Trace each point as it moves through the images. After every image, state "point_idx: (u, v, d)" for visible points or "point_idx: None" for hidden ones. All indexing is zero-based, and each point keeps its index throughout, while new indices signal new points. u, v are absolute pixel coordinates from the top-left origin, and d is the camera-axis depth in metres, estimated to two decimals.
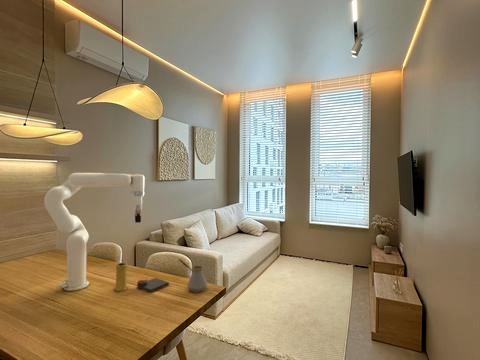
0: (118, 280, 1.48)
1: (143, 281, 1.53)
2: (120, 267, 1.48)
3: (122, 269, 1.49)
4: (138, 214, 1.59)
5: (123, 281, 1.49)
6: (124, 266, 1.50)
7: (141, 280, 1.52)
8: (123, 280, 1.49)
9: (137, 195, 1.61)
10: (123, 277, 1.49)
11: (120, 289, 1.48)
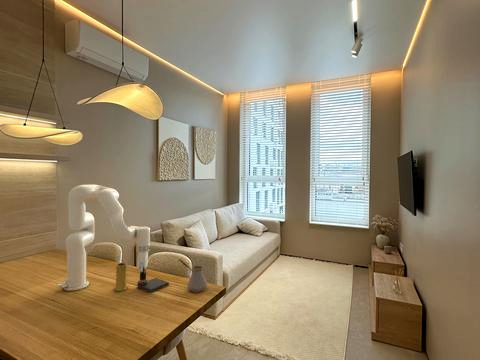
0: (118, 280, 1.48)
1: (143, 281, 1.53)
2: (120, 267, 1.48)
3: (122, 269, 1.49)
4: (142, 272, 1.51)
5: (123, 281, 1.49)
6: (124, 266, 1.50)
7: (141, 280, 1.52)
8: (123, 280, 1.49)
9: (141, 251, 1.50)
10: (123, 277, 1.49)
11: (120, 289, 1.48)
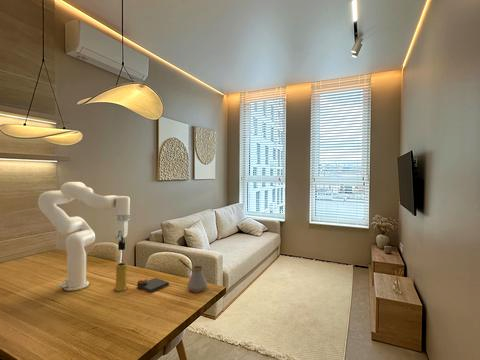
0: (118, 280, 1.48)
1: (143, 281, 1.53)
2: (120, 267, 1.48)
3: (122, 269, 1.49)
4: (121, 241, 1.48)
5: (123, 281, 1.49)
6: (124, 266, 1.50)
7: (141, 280, 1.52)
8: (123, 280, 1.49)
9: (120, 219, 1.47)
10: (123, 277, 1.49)
11: (120, 289, 1.48)
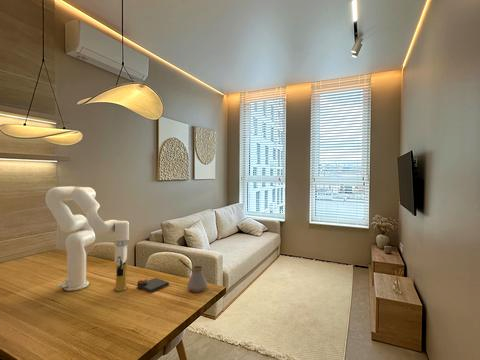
0: (118, 280, 1.48)
1: (143, 281, 1.53)
2: None
3: None
4: (119, 268, 1.46)
5: (123, 281, 1.49)
6: (124, 266, 1.50)
7: (141, 280, 1.52)
8: (123, 280, 1.49)
9: (119, 245, 1.47)
10: (123, 277, 1.49)
11: (120, 289, 1.48)
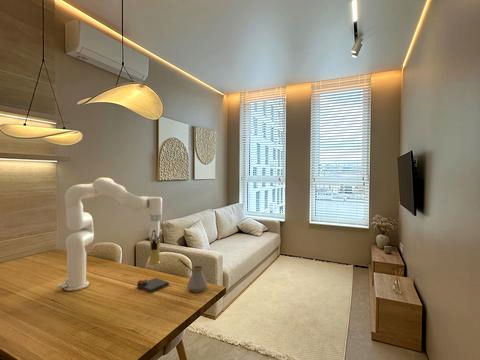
0: (152, 253, 1.52)
1: (143, 281, 1.53)
2: None
3: None
4: (154, 241, 1.50)
5: (157, 255, 1.53)
6: (158, 240, 1.54)
7: (141, 280, 1.52)
8: (157, 254, 1.53)
9: (153, 219, 1.51)
10: (157, 251, 1.53)
11: (154, 262, 1.52)
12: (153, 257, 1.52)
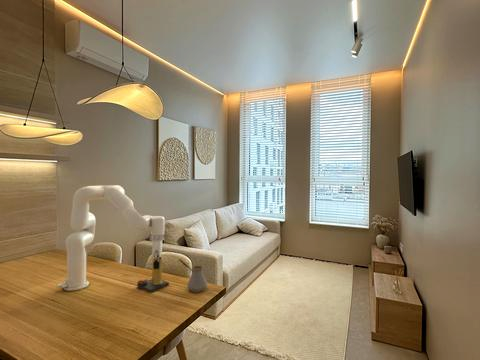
0: (154, 274, 1.53)
1: (143, 281, 1.53)
2: None
3: None
4: (156, 260, 1.49)
5: (159, 275, 1.54)
6: (160, 261, 1.54)
7: (141, 280, 1.52)
8: (159, 274, 1.54)
9: (156, 239, 1.52)
10: (159, 272, 1.54)
11: (157, 283, 1.53)
12: (155, 278, 1.53)
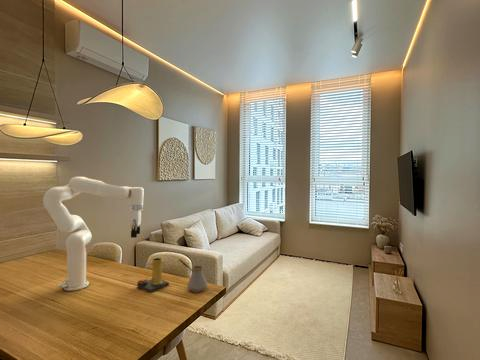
0: (154, 274, 1.53)
1: (143, 281, 1.53)
2: (156, 262, 1.53)
3: (158, 264, 1.53)
4: (133, 229, 1.52)
5: (159, 275, 1.54)
6: (160, 261, 1.54)
7: (141, 280, 1.52)
8: (159, 274, 1.54)
9: (134, 209, 1.56)
10: (159, 272, 1.54)
11: (157, 283, 1.53)
12: (155, 278, 1.53)
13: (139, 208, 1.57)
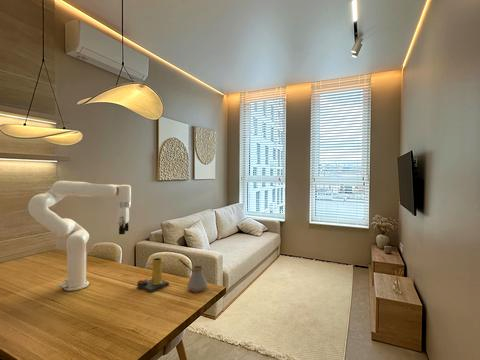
0: (154, 274, 1.53)
1: (143, 281, 1.53)
2: (156, 262, 1.53)
3: (158, 264, 1.53)
4: (121, 226, 1.55)
5: (159, 275, 1.54)
6: (160, 261, 1.54)
7: (141, 280, 1.52)
8: (159, 274, 1.54)
9: (122, 206, 1.58)
10: (159, 272, 1.54)
11: (157, 283, 1.53)
12: (155, 278, 1.53)
13: (127, 205, 1.59)
